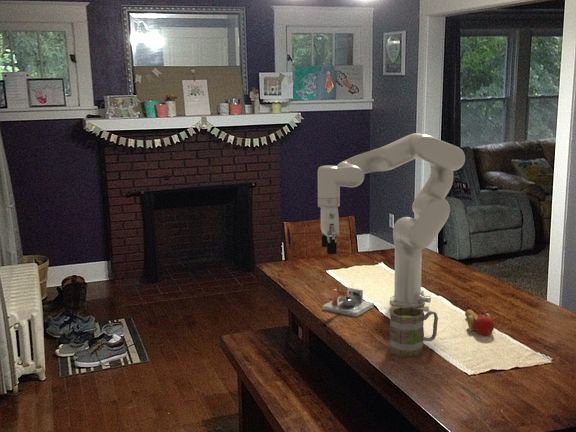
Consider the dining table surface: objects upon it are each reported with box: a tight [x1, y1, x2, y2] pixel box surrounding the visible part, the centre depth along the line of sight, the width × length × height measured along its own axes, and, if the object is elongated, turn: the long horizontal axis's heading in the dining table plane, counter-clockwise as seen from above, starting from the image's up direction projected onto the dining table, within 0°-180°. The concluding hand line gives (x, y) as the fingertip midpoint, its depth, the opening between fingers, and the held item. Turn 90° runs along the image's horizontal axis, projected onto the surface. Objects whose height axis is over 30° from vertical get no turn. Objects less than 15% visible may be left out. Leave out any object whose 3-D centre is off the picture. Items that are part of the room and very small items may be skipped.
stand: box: [322, 287, 375, 318], centre depth 234 cm, size 14×12×6 cm
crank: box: [331, 288, 356, 309], centre depth 231 cm, size 12×6×8 cm, turn 144°
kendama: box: [464, 309, 495, 336], centre depth 214 cm, size 8×6×18 cm
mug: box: [388, 306, 439, 358], centre depth 197 cm, size 16×11×12 cm
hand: (329, 250), depth 227 cm, fingers open, 9 cm apart
